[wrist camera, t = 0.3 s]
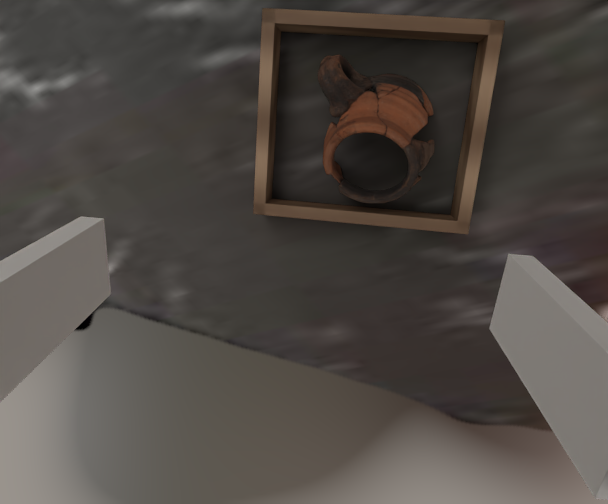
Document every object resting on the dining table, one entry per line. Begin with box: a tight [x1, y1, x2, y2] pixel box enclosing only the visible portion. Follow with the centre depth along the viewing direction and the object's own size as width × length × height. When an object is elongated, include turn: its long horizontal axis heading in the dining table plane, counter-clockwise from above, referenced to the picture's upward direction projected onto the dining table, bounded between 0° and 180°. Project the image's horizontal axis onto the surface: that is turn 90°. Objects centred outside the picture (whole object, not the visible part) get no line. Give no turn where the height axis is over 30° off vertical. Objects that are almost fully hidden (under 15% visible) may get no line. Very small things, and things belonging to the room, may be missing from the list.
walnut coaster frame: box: [253, 8, 505, 234], centre depth 37 cm, size 16×18×3 cm
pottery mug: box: [318, 55, 434, 203], centre depth 36 cm, size 12×10×8 cm
